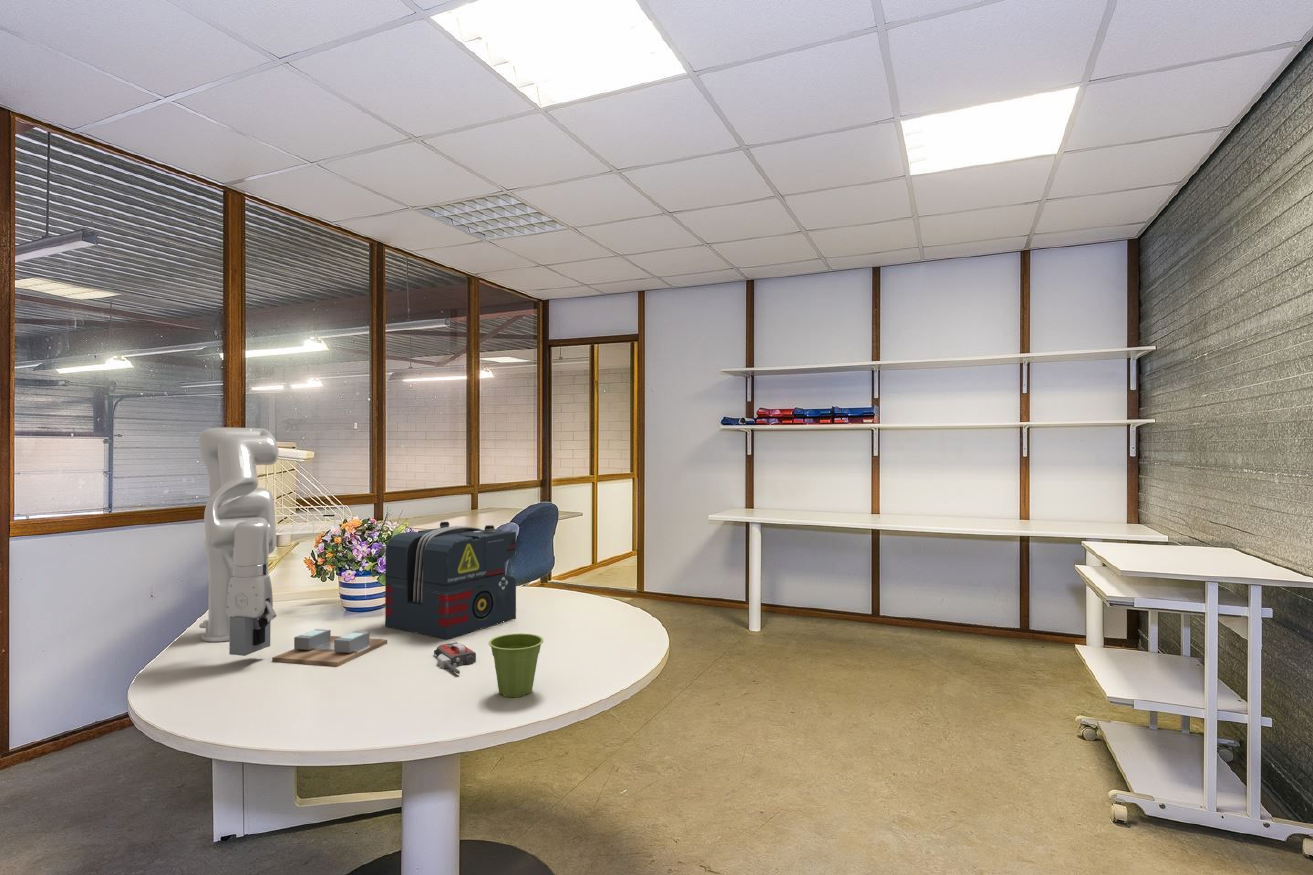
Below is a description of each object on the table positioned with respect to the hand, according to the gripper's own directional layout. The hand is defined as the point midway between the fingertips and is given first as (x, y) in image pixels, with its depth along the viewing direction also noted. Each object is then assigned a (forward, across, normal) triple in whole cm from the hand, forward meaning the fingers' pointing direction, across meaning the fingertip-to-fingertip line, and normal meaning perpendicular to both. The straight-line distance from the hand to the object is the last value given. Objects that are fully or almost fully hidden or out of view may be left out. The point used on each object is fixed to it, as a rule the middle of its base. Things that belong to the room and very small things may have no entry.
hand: (250, 642), depth 167 cm
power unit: (+5, +30, +45) cm, 55 cm away
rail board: (+5, +15, +12) cm, 19 cm away
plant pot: (+4, +75, -5) cm, 75 cm away
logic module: (+2, 0, 0) cm, 2 cm away
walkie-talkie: (+5, +52, +10) cm, 53 cm away
